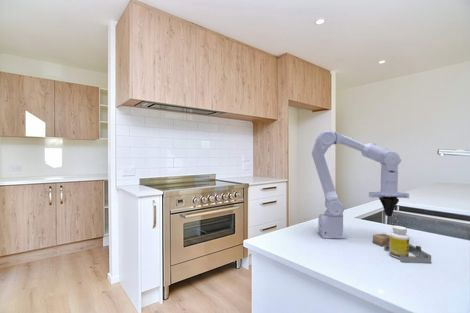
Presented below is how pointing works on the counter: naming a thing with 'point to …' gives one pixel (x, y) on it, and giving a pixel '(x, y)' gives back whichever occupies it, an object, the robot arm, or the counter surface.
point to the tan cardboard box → (381, 239)
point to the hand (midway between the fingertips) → (388, 215)
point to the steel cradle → (419, 254)
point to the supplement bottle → (399, 242)
